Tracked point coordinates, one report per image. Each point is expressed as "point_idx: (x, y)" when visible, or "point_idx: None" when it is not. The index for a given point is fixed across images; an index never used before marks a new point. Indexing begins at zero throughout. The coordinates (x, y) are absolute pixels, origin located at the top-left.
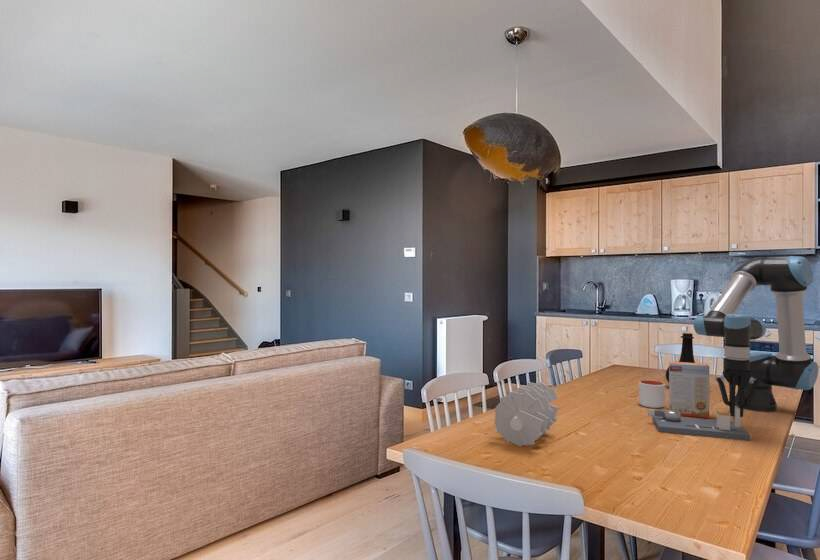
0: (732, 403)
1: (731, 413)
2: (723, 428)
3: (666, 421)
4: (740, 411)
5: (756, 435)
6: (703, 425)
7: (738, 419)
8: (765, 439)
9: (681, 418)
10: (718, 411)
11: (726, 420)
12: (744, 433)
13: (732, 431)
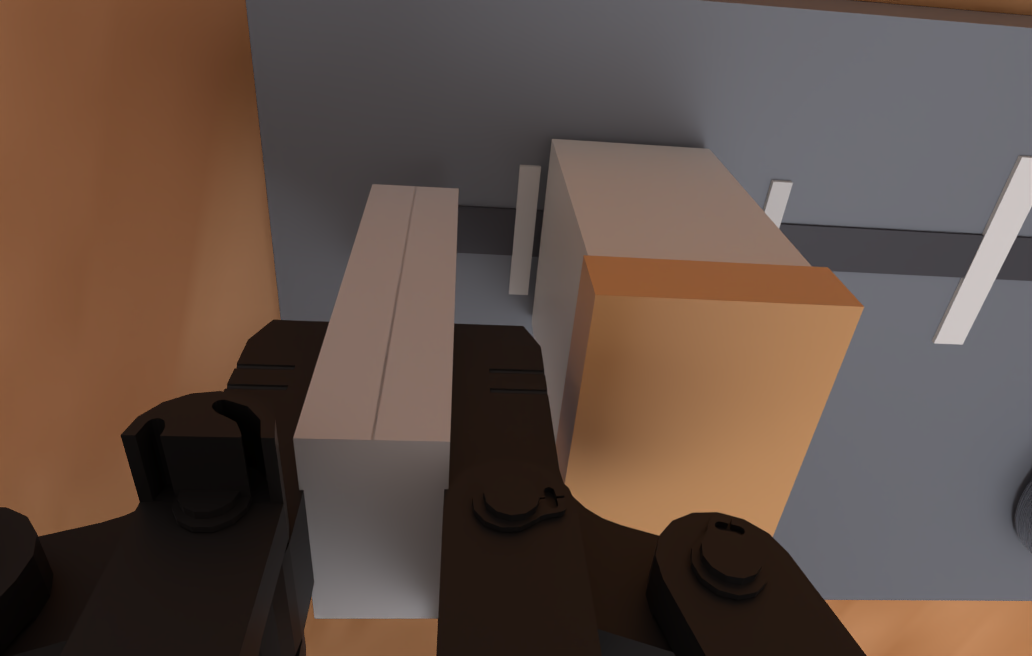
0: (544, 582)
1: (527, 367)
2: (660, 152)
3: None
4: (291, 411)
5: (127, 289)
6: None
7: (383, 253)
8: (12, 111)
9: (945, 560)
10: (812, 418)
11: (646, 211)
12: (332, 30)
13: (517, 110)
